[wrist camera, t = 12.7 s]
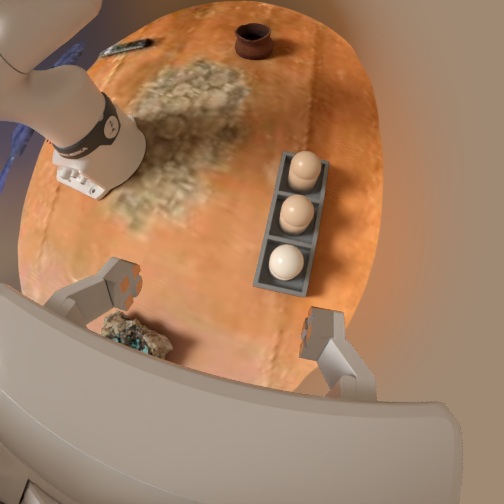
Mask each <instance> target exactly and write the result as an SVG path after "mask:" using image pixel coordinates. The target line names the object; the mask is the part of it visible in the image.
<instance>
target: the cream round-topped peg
mask: <svg viewBox="0 0 504 504" xmlns="http://www.w3.org/2000/svg"><path fill="white" fill-rule="evenodd" d="M303 265H304V258H303V255H302V253H301V251H300V250H299V249H298V248H297V247H295V246H293V245H289V244H285V245H281V246H278V247H277V248H275V249H274V251H273V252H272V254H271V256H270V260H269V272H270V274H271V276H272V277H273V278H274V279H276V280H278V281H281V282H286V281H289V280H291V279H293V278H294V277H295V276H297V275H298V274H299V273H300V272H301V270H302V268H303Z"/></svg>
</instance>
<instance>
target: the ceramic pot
mask: <svg viewBox="0 0 504 504" xmlns="http://www.w3.org/2000/svg"><path fill="white" fill-rule="evenodd" d="M270 33H271V29H270V27H268V26H267V25H262V24H258V23H249V24H246V25H241V26H239V27H238V28H237V29H236V30H235V35H236V36H237V40H236V43H235V49H236V52H237V53H238V55H239V56H240V57H242V58H245V59H250V60H259V59H263V58H266V57H268V56H269V55H270V54H271V52H272V50H273V47H274V45H273V41H272V39H271V38H270Z"/></svg>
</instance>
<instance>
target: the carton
mask: <svg viewBox="0 0 504 504" xmlns="http://www.w3.org/2000/svg"><path fill="white" fill-rule="evenodd" d="M328 168H329V161H325V160H321V159H319V158H318V156H317V155H316V154H314V153H312V152H310V151H301V152H299V153H297V154H295V153H290V152H285V151H283V154H282V158H281V163H280V167H279V172H278V176H277V181H276V185H275V190H274V194H273V199H272V203H271V208H270V212H269V216H268V221H267V225H266V230H265V234H264V238H263V243H262V247H261V252H260V256H259V260H258V265H257V269H256V273H255V278H254V282H253V287H257V288H262V289H266V290H271V291H275V292H280V293H284V294H289V295H294V296H298V297H306V293H307V288H308V283H309V278H310V274H311V269H312V264H313V258H314V253H315V248H316V243H317V237H318V231H319V226H320V220H321V214H322V208H323V202H324V195H325V189H326V182H327V175H328ZM285 244H289V245H293V246H295V247H297V248H298V249H299V250H300V251H301V253H302V255H303V258H304V265H303V268H302V270H301V272H300V273H299V274H298V275H297V276H295V277H294V278H293V279H291V280H289V281H286V282H281V281H278V280H276V279H274V278H273V277H272V276H271V274H270V272H269V260H270V256H271V254H272V252H273V251H274V249H275V248H277V247H278V246H281V245H285Z"/></svg>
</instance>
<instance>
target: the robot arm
mask: <svg viewBox="0 0 504 504" xmlns="http://www.w3.org/2000/svg"><path fill="white" fill-rule="evenodd" d="M101 4H102V0H0V121H13V122H18V123H22V124H25V125H27V126H29V127H31V128H32V129H34V130H36V131H37V132H39V133H40V134H42V135H43V136H44V137H46V138H47V142H48V140H49V144H51V142H52V144H53V146H54V148H55V150H54V153H53V164H54V165H55V166H56V167H58V169H57V180H58V181H59V182H61V183H62V184H65V185H67V186H69V187H71V188H73V189H75V190H77V191H79V192H81V193H83V194H85V195H87V196H89V197H91V198H93V199H95V200H100V199H102V198H103V197H104V196H105V195H106V194H107V193H108V192H109V191H110V190H111V189H112V188H114V187H116V186H118V185H120V184H122V183H123V182H124V181H126V180H127V179H128V178H129V177H130V176H131V175H132V174H133V173H134V172H135V171H136V170H137V168H138V167H139V165H140V163H141V161H142V159H143V157H144V154H145V149H146V141H145V137H144V135H143V133H142V132H141V131H140V130H139V129H138V128H137V126H136V121H135V119H134V118H133V116H127V115H126V114H125V113H124V112H123V111H122V110H121V109H120V107H119V106H118V105H117V104H115V103H112V101H111V99H110V98H109V97H107V96H106V94H105V93H103V92H100V90H99V89H98V88H97V86H96V85H95V84H94V82H93V81H92V79H91V78H90V77H89V75H88V74H87V73H86V71H85V70H84V69H82V68H80V67H77V66H73V65H63V66H59V67H56V68H53V69H50V70H44V71H35V70H32V69H33V68H34V67H36V66H37V65H38V64H39V63H40V62H41V61H43V60H44V59H45V58H46V57H47V56H49V55H50V54H51V53H52V52H53V51H55V50H56V49H57V48H59V47H60V46H61V45H63V44H64V43H65V42H67V41H68V40H69V39H71V38H72V37H73V36H74V35H75V34H76V33H77V32H78V31H80V30H81V29H82V28H83V27H84V26H85V25H86V24H87V23H89V22H90V21H91V20H92V19H93V18H94V17H95V16H97V14H98V12H99V10H100V7H101ZM94 191H95V192H94ZM140 271H141V270H140V265H138V264H135V263H132V262H129V261H126V260H123V259H119V258H116V257H112V258H110V259H109V260H108V261H107V263H106V264H105V265H104V266H103V267H102V268H101V269H100V270H99V272H98V273H97V274H96V275H95V276H90V277H87V278H85V279H83V280H80V281H78V282H76V283H73V284H71V285H69V286H66V287H64V288H62V289H59V290H57V291H55V293H54V294H53V295H52V296H51V297H50V299H49V300H48V301H47V302H46V303H45V305H44V306H42V305H40V304H38V303H37V302H35V301H33V300H31V299H30V298H28V297H26V296H25V295H23V294H21V293H20V292H18V291H16V290H15V289H13V288H12V287H10V286H9V285H7V284H5V283H1V284H0V504H459V500H460V493H461V485H462V473H463V442H462V431H461V426H460V423H459V421H458V420H457V418H456V417H455V416H454V414H453V413H452V412H451V411H450V409H449V408H448V407H447V406H446V405H445V404H444V403H442V402H383V401H377V397H376V381H375V377H374V376H373V374H372V373H371V371H370V370H369V368H368V367H367V366H366V364H365V363H364V362H363V360H362V359H361V357H360V356H359V355H358V353H357V352H356V351H355V349H354V348H353V346H352V345H351V343H350V342H349V341H346V337H345V321H344V313H343V312H341V311H335V310H330V309H324V308H319V307H314V306H311V307H310V309H309V311H308V317H307V318H305V321H304V324H303V327H302V332H301V339H302V343H301V345H300V352H299V358H304V359H309V360H314V361H317V364H318V366H319V368H320V370H321V372H322V374H323V376H324V378H325V380H326V382H327V384H328V386H329V388H330V391H329V393H328V394H327V395H326V396H325V397H323V396H315V395H308V394H302V393H295V392H289V391H283V390H278V389H273V388H268V387H263V386H258V385H253V384H249V383H244V382H240V381H236V380H231V379H227V378H224V377H220V376H216V375H212V374H209V373H205V372H201V371H198V370H195V369H191V368H188V367H185V366H182V365H178V364H175V363H172V362H169V361H166V360H163V359H160V358H158V357H155V356H152V355H149V354H146V353H144V352H141V351H138V350H136V349H133V348H131V347H128V346H126V345H123V344H121V343H118V342H116V341H113V340H111V339H109V338H106V337H104V336H102V335H100V334H97V333H95V332H93V331H91V330H89V329H88V328H87V326H86V324H88V323H89V322H91V321H93V320H94V319H96V318H97V317H99V316H101V315H102V314H104V313H105V312H107V311H109V310H110V309H112V308H113V307H115V308H118V309H121V310H124V311H128V310H129V308H130V307H131V305H132V304H133V298H134V297H136V296H138V295H139V293H140V291H141V288H142V277H141V276H140V275H139V272H140Z"/></svg>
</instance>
